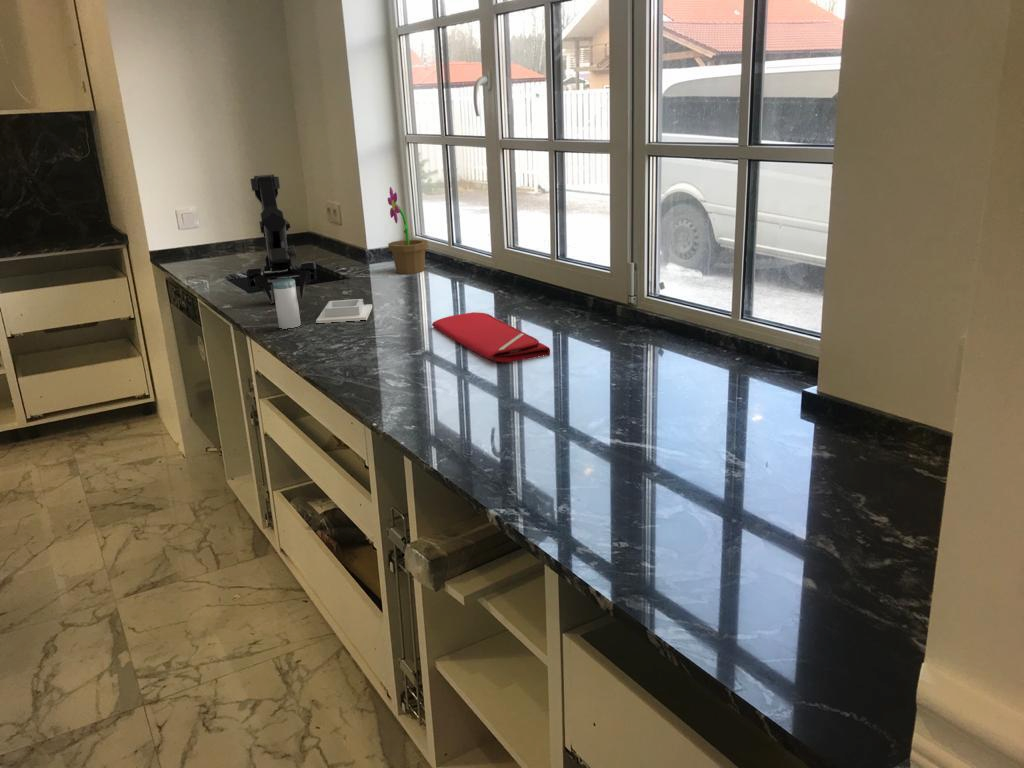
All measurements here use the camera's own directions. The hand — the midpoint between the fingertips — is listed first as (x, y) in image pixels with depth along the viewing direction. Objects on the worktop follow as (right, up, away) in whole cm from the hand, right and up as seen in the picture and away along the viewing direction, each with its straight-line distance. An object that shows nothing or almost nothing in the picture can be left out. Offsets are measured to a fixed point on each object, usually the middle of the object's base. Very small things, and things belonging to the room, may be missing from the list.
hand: (286, 299), depth 233 cm
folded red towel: (+56, -13, -20) cm, 61 cm away
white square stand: (+14, -3, +13) cm, 19 cm away
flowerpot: (+25, +17, +72) cm, 79 cm away
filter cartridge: (0, -7, +4) cm, 8 cm away
